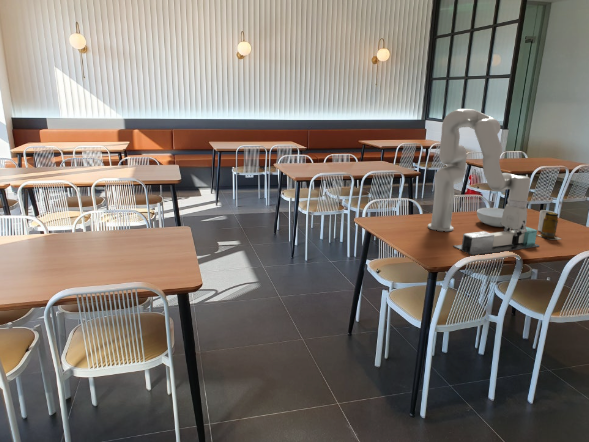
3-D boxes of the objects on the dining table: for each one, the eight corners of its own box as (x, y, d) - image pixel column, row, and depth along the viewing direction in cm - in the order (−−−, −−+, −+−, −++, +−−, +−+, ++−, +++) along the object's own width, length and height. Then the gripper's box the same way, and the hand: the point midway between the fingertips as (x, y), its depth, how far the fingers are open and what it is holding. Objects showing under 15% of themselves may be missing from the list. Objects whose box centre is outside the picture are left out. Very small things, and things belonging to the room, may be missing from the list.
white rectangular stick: (485, 247, 192) (487, 237, 191) (478, 245, 196) (480, 234, 195) (525, 242, 201) (527, 232, 200) (518, 239, 205) (520, 229, 203)
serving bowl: (480, 217, 247) (482, 205, 246) (521, 224, 236) (523, 211, 234) (470, 225, 231) (472, 212, 229) (513, 232, 219) (516, 219, 218)
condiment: (546, 234, 218) (551, 211, 215) (562, 239, 211) (566, 215, 208) (536, 235, 216) (540, 212, 213) (551, 240, 208) (555, 216, 205)
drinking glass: (550, 233, 220) (554, 214, 217) (535, 230, 223) (539, 212, 221) (552, 230, 225) (555, 211, 222) (537, 228, 229) (541, 209, 226)
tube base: (472, 255, 185) (474, 239, 183) (453, 246, 196) (455, 231, 194) (539, 246, 199) (542, 231, 197) (517, 238, 210) (520, 223, 208)
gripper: (496, 199, 201) (490, 237, 206) (526, 208, 186) (519, 248, 191) (508, 198, 204) (502, 236, 209) (539, 207, 189) (532, 247, 194)
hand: (510, 241), depth 200 cm, fingers closed on white rectangular stick, 4 cm apart
